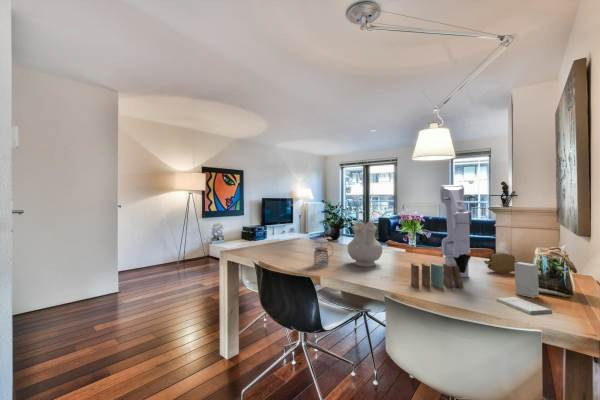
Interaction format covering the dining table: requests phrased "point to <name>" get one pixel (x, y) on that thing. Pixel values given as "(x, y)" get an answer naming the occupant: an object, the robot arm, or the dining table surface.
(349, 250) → the ceramic pitcher
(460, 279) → the domino
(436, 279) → the domino
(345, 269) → the dining table surface
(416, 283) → the domino
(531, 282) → the skincare box
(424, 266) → the domino
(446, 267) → the domino
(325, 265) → the french press
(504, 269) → the wooden carving
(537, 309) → the external hard drive
